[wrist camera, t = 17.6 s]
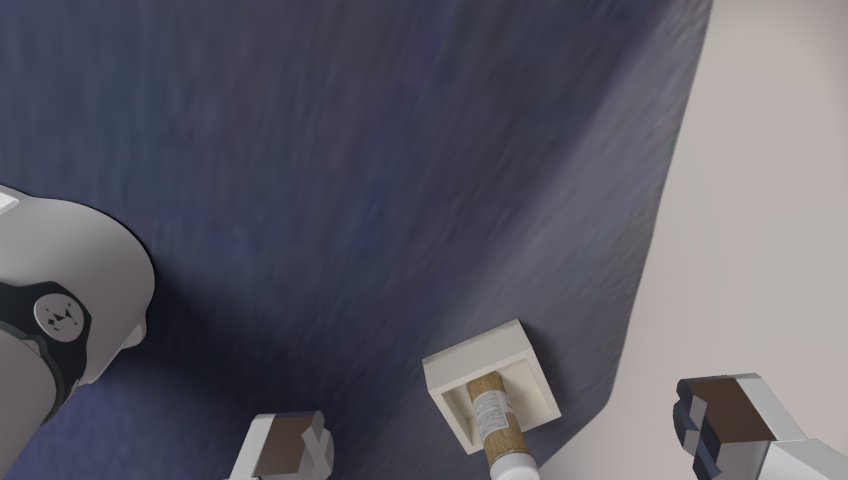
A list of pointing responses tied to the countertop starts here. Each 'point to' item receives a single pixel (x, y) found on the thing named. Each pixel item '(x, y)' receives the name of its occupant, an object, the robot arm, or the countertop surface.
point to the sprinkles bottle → (500, 430)
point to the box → (479, 357)
